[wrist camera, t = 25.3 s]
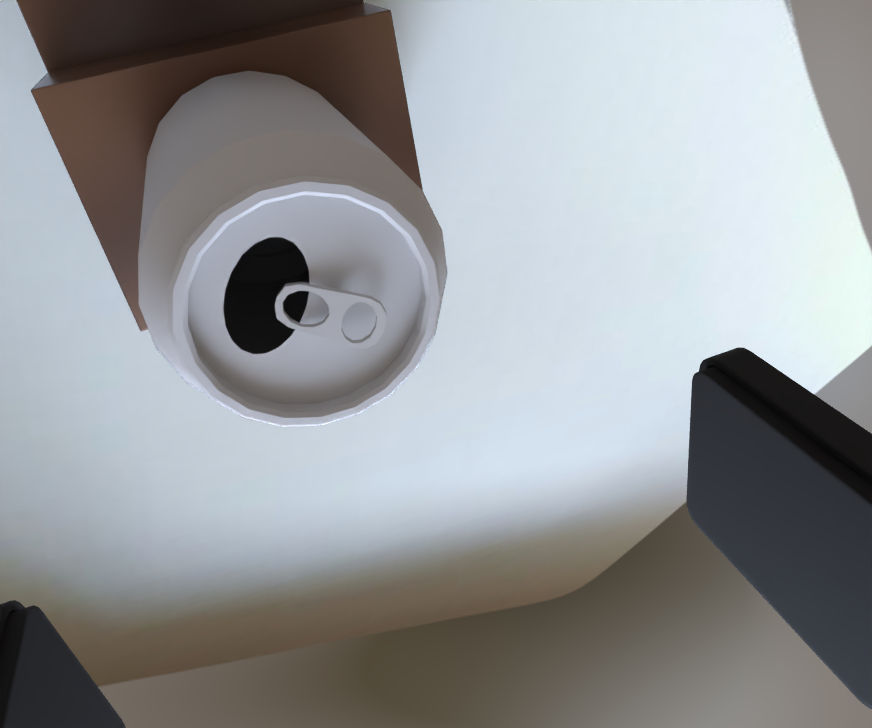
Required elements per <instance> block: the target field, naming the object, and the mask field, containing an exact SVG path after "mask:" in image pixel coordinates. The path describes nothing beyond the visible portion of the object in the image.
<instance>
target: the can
mask: <svg viewBox="0 0 872 728" xmlns="http://www.w3.org/2000/svg"><path fill="white" fill-rule="evenodd" d="M446 277H447V265H446V258H445V250H444V242H443V234H442V229H441V227H440V225H439V223H438V221H437V219H436V217H435V215H434V213H433V211H432V209H431V207H430V205H429V203H428V201H427V199H426V197H425V195H424V193H423V191H422V190H421V189H420V188H419V187H418V186H417V185H416V184H415V183H414V182H413V181H412V180H411V179H410V178H409V177H408V176H407V175H406V174H405V173H404V172H403V171H402V170H401V169H400V168H399V167H398V166H397V165H396V164H395V163H394V162H393V161H392V160H391V159H390V158H389V157H388V156H387V155H386V154H384V153H383V152H382V151H381V150H380V149H379V148H378V147H377V146H376V145H375V144H374V143H372V142H371V141H370V140H369V139H368V138H367V137H366V136H365V135H364V134H363V133H362V132H361V131H359V130H358V129H357V128H356V127H355V126H354V125H353V124H352V123H351V122H350V121H349V120H347V119H346V118H345V117H344V116H343V115H342V114H341V113H340V112H339V111H338V110H337V109H335V108H334V107H333V106H332V105H331V104H330V103H329V102H328V101H327V100H326V99H325V98H323V97H322V96H321V95H320V94H319V93H318V92H317V91H315V90H313V89H311V88H309V87H307V86H305V85H303V84H301V83H299V82H297V81H295V80H293V79H291V78H289V77H287V76H283V75H276V74H269V73H262V72H256V71H244V72H239V73H233V74H228V75H222V76H217V77H213V78H211V79H209V80H207V81H206V82H204V83H202V84H201V85H199V86H197V87H195V88H194V89H192V90H190V91H189V92H187V93H185V94H183V95H182V96H181V97H180V98H179V99H178V101H177V102H176V103H175V104H174V105H173V107H172V108H171V109H170V110H169V111H168V113H167V114H166V115H165V116H164V118H163V119H162V120H161V121H160V122H159V124H158V127H157V130H156V133H155V136H154V139H153V141H152V144H151V147H150V150H149V153H148V156H147V165H146V176H145V186H144V197H143V208H142V219H141V230H140V241H139V252H138V283H139V307H140V309H141V312H142V314H143V317H144V319H145V322H146V324H147V327H148V329H149V332H150V334H151V337H152V339H153V342H154V344H155V347H156V349H157V350H158V351H159V352H160V353H161V354H162V356H163V357H164V358H165V359H166V360H167V361H168V362H169V364H170V365H171V366H172V367H173V368H174V369H175V370H176V372H177V373H178V374H179V375H180V376H181V377H182V378H183V380H184V381H185V382H186V383H188V384H189V385H191V386H193V387H195V388H196V389H198V390H200V391H201V392H203V393H205V394H206V395H207V396H208V397H209V398H211V399H213V400H214V401H216V402H218V403H219V404H221V405H223V406H224V407H226V408H228V409H230V410H231V411H233V412H235V413H236V414H238V415H240V416H241V417H244V418H248V419H252V420H256V421H260V422H265V423H269V424H273V425H277V426H314V425H323V424H327V423H330V422H333V421H337V420H340V419H344V418H347V417H350V416H354V415H357V414H359V413H361V412H363V411H364V410H366V409H368V408H369V407H371V406H373V405H374V404H376V403H378V402H379V401H381V400H383V399H384V398H386V397H388V396H389V395H391V394H392V393H393V392H394V391H395V390H396V389H397V388H398V387H399V386H400V385H401V384H402V383H403V382H404V381H405V380H406V379H407V378H408V377H409V375H410V374H411V373H412V372H413V371H414V370H415V369H416V368H417V367H418V366H419V364H420V362H421V360H422V358H423V356H424V354H425V352H426V351H427V349H428V347H429V345H430V343H431V341H432V339H433V337H434V336H435V333H436V328H437V323H438V318H439V314H440V309H441V303H442V298H443V293H444V288H445V283H446Z"/></svg>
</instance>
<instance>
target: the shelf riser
mask: <svg viewBox="0 0 872 728" xmlns="http://www.w3.org/2000/svg"><path fill="white" fill-rule="evenodd" d="M16 1H17V3H18V5H19V7H20V10H21V12H22V14H23V17H24V19H25V21H26V23H27V26H28V28H29V30H30V33H31V35H32V37H33V39H34V42H35V44H36V46H37V49H38V51H39V53H40V55H41V58H42V60H43V62H44V64H45V67H46V69H47V71H48V73H47V74H46V75H45V76H44V77H43V78H42V79H41V80H40V81H39V82H38V83H37V84H36V85H35V86H34V87H33V88H32V89H31V92H32V95H33V97H34V99H35V101H36V103H37V105H38V108H39V110H40V112H41V114H42V116H43V119H44V121H45V123H46V125H47V127H48V130H49V132H50V134H51V136H52V138H53V140H54V143H55V145H56V147H57V149H58V151H59V154H60V156H61V158H62V160H63V162H64V165H65V167H66V169H67V171H68V173H69V175H70V178H71V180H72V182H73V184H74V186H75V189H76V191H77V193H78V195H79V197H80V200H81V202H82V204H83V206H84V208H85V210H86V213H87V215H88V217H89V219H90V221H91V224H92V226H93V228H94V230H95V232H96V235H97V237H98V239H99V241H100V243H101V245H102V248H103V250H104V252H105V254H106V256H107V259H108V261H109V263H110V265H111V267H112V270H113V272H114V274H115V276H116V278H117V280H118V283H119V285H120V287H121V289H122V291H123V294H124V296H125V298H126V300H127V302H128V305H129V307H130V309H131V311H132V313H133V315H134V318H135V320H136V322H137V324H138V326H139V329H140V331H145V330H148V327H147V324H146V322H145V319H144V317H143V314H142V312H141V309H140V307H139V283H138V252H139V241H140V230H141V219H142V208H143V197H144V186H145V176H146V165H147V156H148V153H149V150H150V147H151V144H152V141H153V139H154V136H155V133H156V130H157V127H158V124H159V122H160V121H161V120H162V119H163V118H164V116H165V115H166V114H167V113H168V111H169V110H170V109H171V108H172V107H173V105H174V104H175V103H176V102H177V101H178V99H179V98H180V97H181V96H182V95H183V94H185V93H187V92H189V91H190V90H192V89H194V88H195V87H197V86H199V85H201V84H202V83H204V82H206V81H207V80H209V79H211V78H213V77H217V76H222V75H228V74H233V73H239V72H244V71H256V72H262V73H269V74H276V75H283V76H287V77H289V78H291V79H293V80H295V81H297V82H299V83H301V84H303V85H305V86H307V87H309V88H311V89H313V90H315V91H317V92H318V93H319V94H320V95H321V96H322V97H323V98H325V99H326V100H327V101H328V102H329V103H330V104H331V105H332V106H333V107H334V108H335V109H337V110H338V111H339V112H340V113H341V114H342V115H343V116H344V117H345V118H346V119H347V120H349V121H350V122H351V123H352V124H353V125H354V126H355V127H356V128H357V129H358V130H359V131H361V132H362V133H363V134H364V135H365V136H366V137H367V138H368V139H369V140H370V141H371V142H372V143H374V144H375V145H376V146H377V147H378V148H379V149H380V150H381V151H382V152H383V153H384V154H386V155H387V156H388V157H389V158H390V159H391V160H392V161H393V162H394V163H395V164H396V165H397V166H398V167H399V168H400V169H401V170H402V171H403V172H404V173H405V174H406V175H407V176H408V177H409V178H410V179H411V180H412V181H413V182H414V183H415V184H416V185H417V186H418V187H419V188H420V189H421V190H422V184H421V178H420V173H419V167H418V161H417V156H416V150H415V144H414V139H413V133H412V128H411V122H410V116H409V111H408V105H407V99H406V94H405V88H404V83H403V77H402V71H401V66H400V60H399V54H398V49H397V43H396V38H395V32H394V26H393V21H392V15H391V11H390V10H388V9H384V8H380V7H376V6H372V5H369V4H365V3H364V2H363V0H16ZM422 191H423V190H422Z"/></svg>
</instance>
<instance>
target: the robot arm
mask: <svg viewBox="0 0 872 728" xmlns="http://www.w3.org/2000/svg"><path fill="white" fill-rule="evenodd" d="M687 507H688V510H689V513H690V515H691V517H692V519H693V521H694V522H695V524H696V525H697V526H698V527H699V528H700V529H701V530H702V531H703V533H704V534H705V535H706V536H707V537H708V538H709V539H710V540H711V541H712V542H713V543H714V545H715V546H716V547H717V548H718V549H719V550H720V551H721V552H722V553H723V554H724V555H725V556H726V557H727V558H728V560H729V561H731V563H732V564H733V565H734V566H735V567H736V568H737V569H738V570H739V571H740V573H741V574H742V575H743V576H744V577H745V578H746V579H747V580H748V581H749V582H750V583H751V584H752V585H753V587H755V589H756V590H757V591H758V592H759V593H760V594H761V595H762V596H763V597H764V598H765V600H766V601H767V602H768V603H769V604H770V605H771V606H772V607H773V608H774V609H775V610H776V611H777V612H778V614H779V615H780V616H782V618H783V619H784V620H785V621H786V622H787V623H788V624H789V625H790V626H791V628H792V629H793V630H795V632H796V633H797V634H798V635H799V636H800V637H801V638H802V639H803V640H804V642H805V643H806V644H807V645H808V646H809V647H810V648H811V649H812V650H813V651H814V652H815V653H816V655H818V657H819V658H820V659H821V660H822V661H823V662H824V663H825V664H826V665H827V666H828V667H829V668H830V670H832V672H833V673H834V674H835V675H836V676H837V677H838V678H839V679H840V680H841V681H842V683H843V684H844V685H845V686H846V687H847V688H848V689H849V690H850V691H851V692H852V693H853V694H854V695H855V696H856V698H857V699H858V700H860V701H861V702H862V703H863V704H864V705H865V706H867V707H869V708H871V709H872V434H871V433H870V432H868V431H867V430H865V429H864V428H862V427H861V426H859V425H858V424H856V423H855V422H853V421H852V420H850V419H849V418H847V417H846V416H845V415H843V414H842V413H840V412H839V411H837V410H836V409H834V408H833V407H831V406H830V405H828V404H827V403H825V402H824V401H822V400H821V399H820V398H818V397H817V396H815V395H814V394H812V393H811V392H809V391H808V390H807V389H805V388H804V387H802V386H801V385H799V384H798V383H796V382H795V381H793V380H792V379H790V378H789V377H787V376H786V375H785V374H783V373H782V372H780V371H779V370H777V369H776V368H774V367H773V366H771V365H770V364H768V363H767V362H765V361H764V360H763V359H761V358H760V357H758V356H757V355H755V354H754V353H752V352H751V351H749V350H747V349H745V348H736V349H733V350H730V351H727V352H724V353H721V354H718V355H715V356H713V357H710V358H707V359H705V360H703V361H702V363H701V365H700V369H699V372H697V373H695V374H694V376H693V380H692V396H691V417H690V438H689V460H688V481H687ZM0 728H126V727H125V725H124V723H123V721H122V719H121V718H120V717H119V715H118V714H117V713H116V711H115V710H114V708H113V707H112V706H111V704H110V703H109V702H108V700H107V699H106V698H105V696H104V695H103V694H102V692H101V691H100V689H99V688H98V687H97V685H96V684H95V683H94V681H93V680H92V679H91V677H90V676H89V674H88V673H87V672H86V670H85V669H84V668H83V666H82V665H81V664H80V662H79V661H78V659H77V658H76V657H75V655H74V654H73V653H72V651H71V650H70V649H69V647H68V646H67V644H66V643H65V642H64V640H63V639H62V638H61V636H60V635H59V634H58V632H57V631H56V629H55V628H54V627H53V625H52V624H51V623H50V621H49V620H48V619H47V617H46V616H45V614H44V613H43V612H42V611H41V610H40V608H39V607H37V606H30V607H27V608H25V607H24V606H23V605H22V604H21V603H20V602H17V601H15V600H14V601H9V602H6V603H3V604H0Z"/></svg>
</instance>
